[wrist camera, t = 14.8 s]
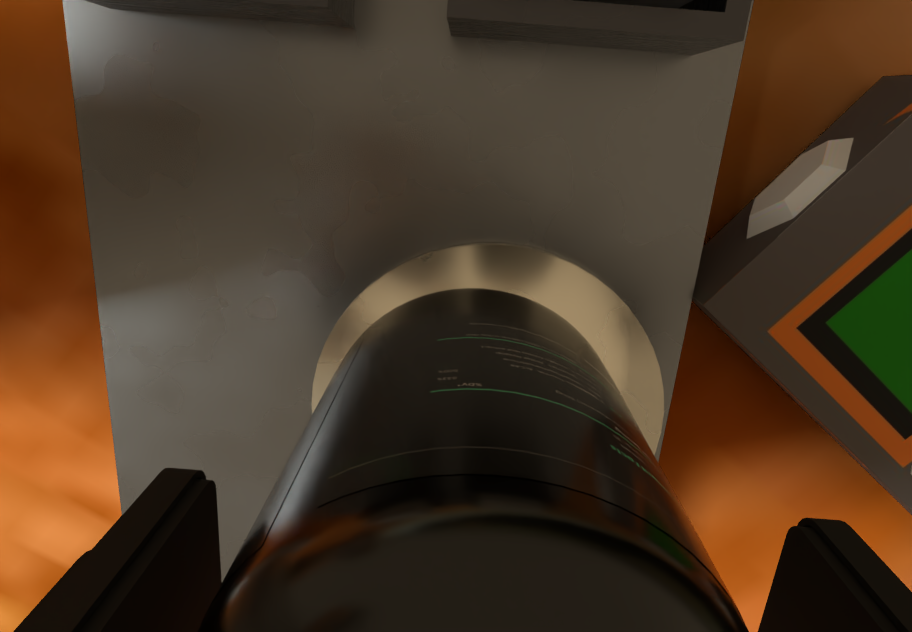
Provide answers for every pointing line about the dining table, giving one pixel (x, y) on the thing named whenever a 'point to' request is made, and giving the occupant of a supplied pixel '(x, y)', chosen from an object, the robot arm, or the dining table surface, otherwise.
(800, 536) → the robot arm
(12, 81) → the dining table surface
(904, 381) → the electronic device
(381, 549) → the supplement bottle
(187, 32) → the breaker board
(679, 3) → the white cube
